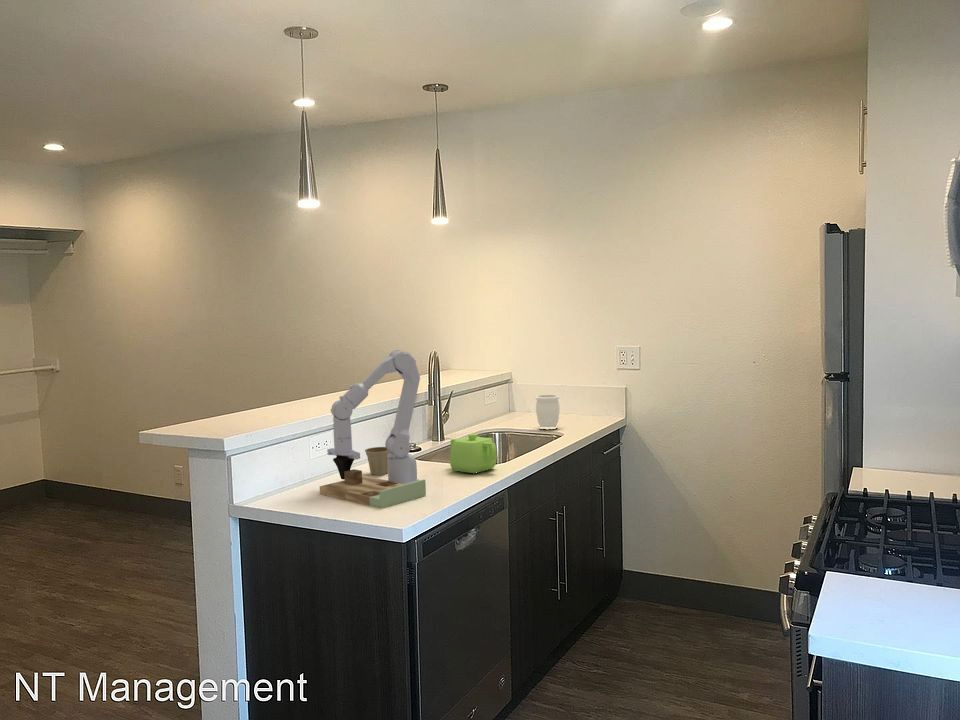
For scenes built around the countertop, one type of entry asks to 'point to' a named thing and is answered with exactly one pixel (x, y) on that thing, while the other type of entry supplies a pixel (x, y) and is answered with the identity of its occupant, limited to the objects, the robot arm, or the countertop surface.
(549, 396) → the jar
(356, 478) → the walnut block
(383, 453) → the flower pot
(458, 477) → the countertop surface
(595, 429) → the countertop surface
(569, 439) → the countertop surface
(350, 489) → the box
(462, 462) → the teapot
